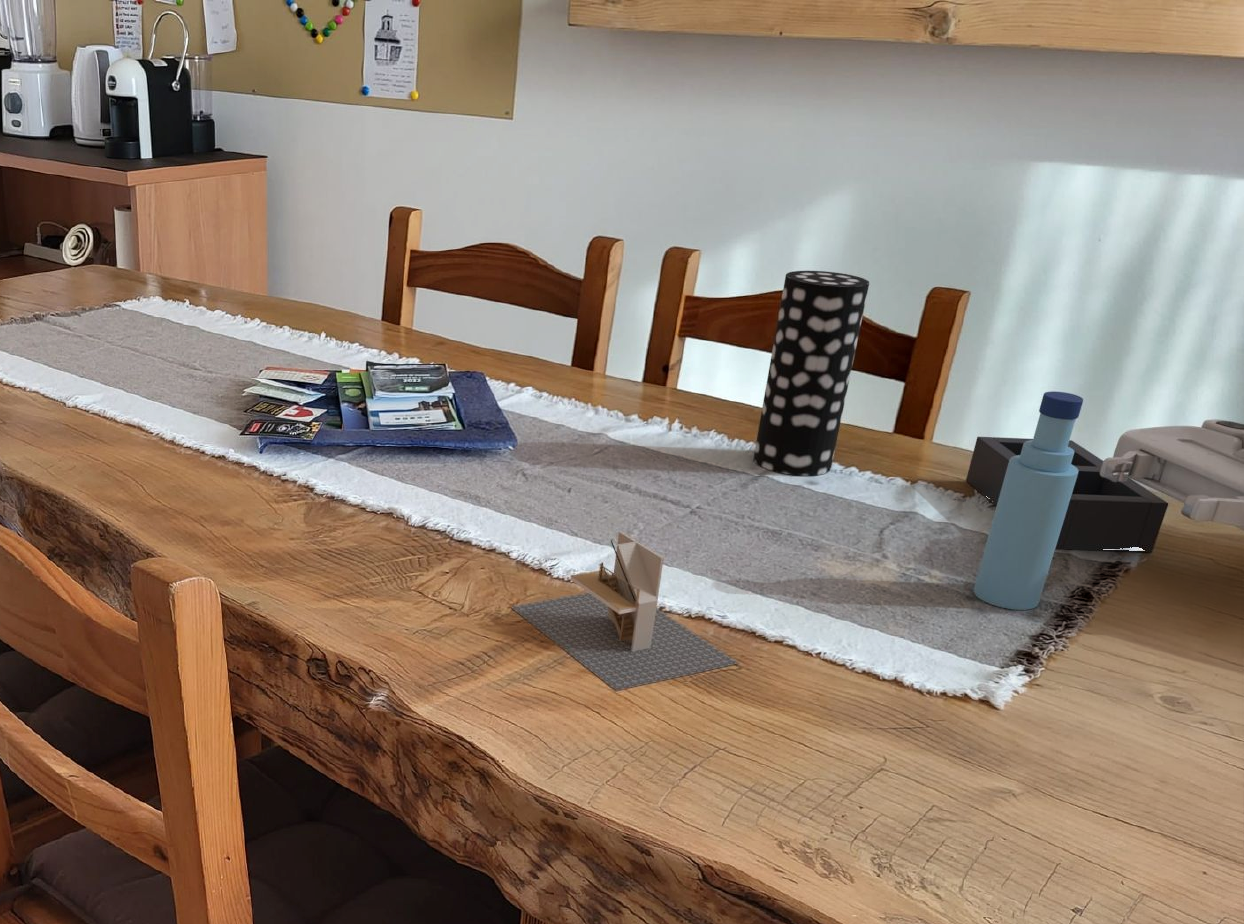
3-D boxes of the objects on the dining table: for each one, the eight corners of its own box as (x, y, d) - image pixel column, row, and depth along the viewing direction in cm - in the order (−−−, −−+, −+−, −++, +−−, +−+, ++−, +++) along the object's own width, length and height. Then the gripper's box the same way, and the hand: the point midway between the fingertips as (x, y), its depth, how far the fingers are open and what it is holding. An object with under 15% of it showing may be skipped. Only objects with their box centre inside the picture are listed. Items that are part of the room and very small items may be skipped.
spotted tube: (846, 468, 137) (886, 282, 128) (796, 480, 133) (834, 289, 124) (787, 446, 143) (820, 268, 134) (737, 457, 139) (768, 274, 130)
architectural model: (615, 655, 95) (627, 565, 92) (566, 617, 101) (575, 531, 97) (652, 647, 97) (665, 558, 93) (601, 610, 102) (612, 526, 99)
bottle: (1022, 585, 110) (1080, 388, 102) (1049, 611, 106) (1112, 406, 98) (963, 583, 110) (1017, 385, 102) (988, 609, 106) (1046, 404, 98)
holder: (1058, 484, 135) (1072, 440, 133) (1152, 552, 119) (1169, 503, 116) (965, 480, 135) (977, 436, 133) (1045, 548, 119) (1060, 499, 116)
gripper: (1375, 563, 101) (1232, 572, 98) (1182, 478, 119) (1056, 483, 116) (1407, 489, 98) (1260, 496, 95) (1203, 413, 116) (1075, 417, 113)
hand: (1146, 488), depth 105 cm, fingers open, 8 cm apart
